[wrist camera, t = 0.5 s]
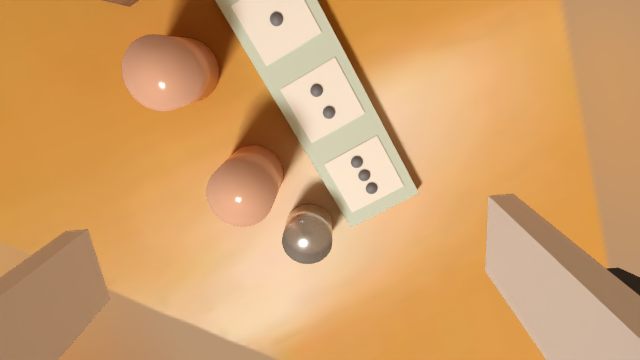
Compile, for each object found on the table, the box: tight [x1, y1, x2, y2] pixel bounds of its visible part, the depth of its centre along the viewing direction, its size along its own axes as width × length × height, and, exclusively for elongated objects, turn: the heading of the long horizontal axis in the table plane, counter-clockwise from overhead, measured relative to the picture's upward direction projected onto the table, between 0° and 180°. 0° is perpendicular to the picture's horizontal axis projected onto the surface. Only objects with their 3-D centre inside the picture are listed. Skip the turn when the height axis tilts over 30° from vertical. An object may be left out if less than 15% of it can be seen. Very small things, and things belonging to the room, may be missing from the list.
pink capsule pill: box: [206, 145, 283, 227], centre depth 38 cm, size 6×6×7 cm
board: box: [215, 0, 419, 227], centre depth 38 cm, size 26×8×1 cm, turn 30°
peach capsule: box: [122, 34, 219, 111], centre depth 35 cm, size 6×6×7 cm
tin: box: [282, 204, 332, 264], centre depth 41 cm, size 5×5×4 cm
